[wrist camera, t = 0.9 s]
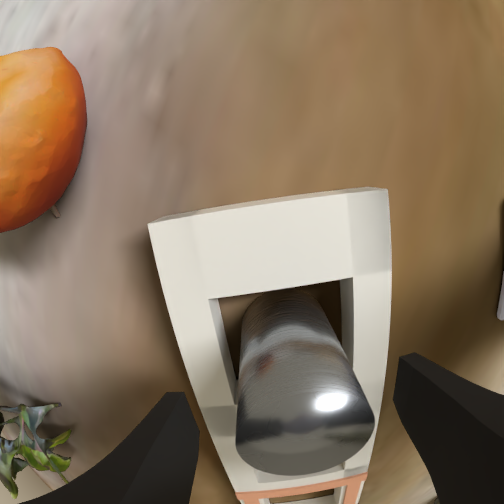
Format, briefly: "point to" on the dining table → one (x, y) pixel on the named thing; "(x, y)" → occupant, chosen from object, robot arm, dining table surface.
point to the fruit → (38, 132)
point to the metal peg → (296, 389)
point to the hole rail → (273, 278)
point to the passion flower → (29, 446)
